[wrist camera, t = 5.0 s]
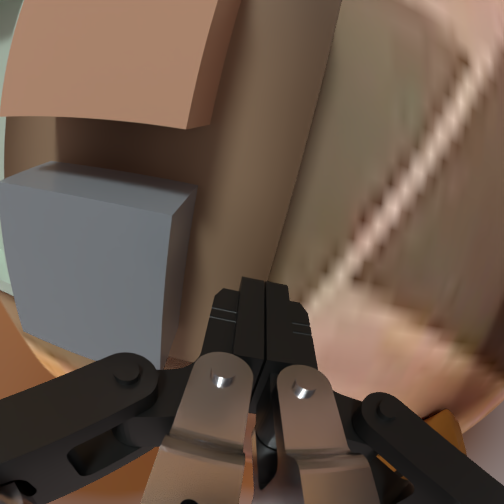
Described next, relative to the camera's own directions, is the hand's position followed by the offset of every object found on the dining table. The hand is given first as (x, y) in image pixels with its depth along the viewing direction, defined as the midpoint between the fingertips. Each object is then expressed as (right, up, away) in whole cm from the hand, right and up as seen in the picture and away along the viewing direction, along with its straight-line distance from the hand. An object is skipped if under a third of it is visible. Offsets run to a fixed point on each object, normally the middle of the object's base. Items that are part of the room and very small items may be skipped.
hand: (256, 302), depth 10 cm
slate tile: (-6, +2, 0) cm, 6 cm away
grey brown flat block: (-4, +7, +2) cm, 9 cm away
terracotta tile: (-4, +9, -3) cm, 10 cm away
